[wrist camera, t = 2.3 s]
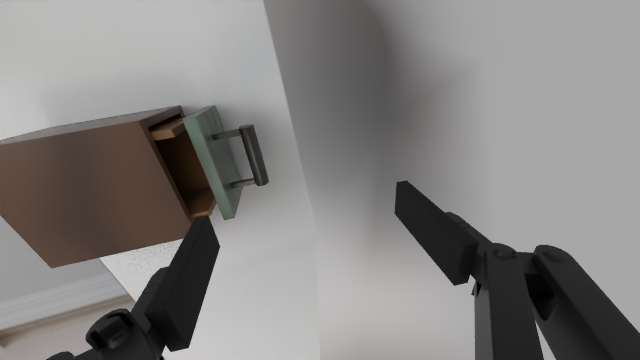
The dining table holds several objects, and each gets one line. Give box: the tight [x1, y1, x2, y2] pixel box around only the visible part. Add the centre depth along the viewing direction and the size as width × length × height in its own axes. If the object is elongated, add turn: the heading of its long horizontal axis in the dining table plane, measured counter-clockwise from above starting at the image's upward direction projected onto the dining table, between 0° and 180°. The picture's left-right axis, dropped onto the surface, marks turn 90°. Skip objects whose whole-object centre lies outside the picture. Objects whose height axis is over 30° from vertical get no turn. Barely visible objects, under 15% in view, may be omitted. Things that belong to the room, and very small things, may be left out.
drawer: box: [148, 105, 269, 220], centre depth 26 cm, size 18×11×8 cm, turn 99°
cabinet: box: [0, 105, 194, 268], centre depth 26 cm, size 15×13×10 cm
